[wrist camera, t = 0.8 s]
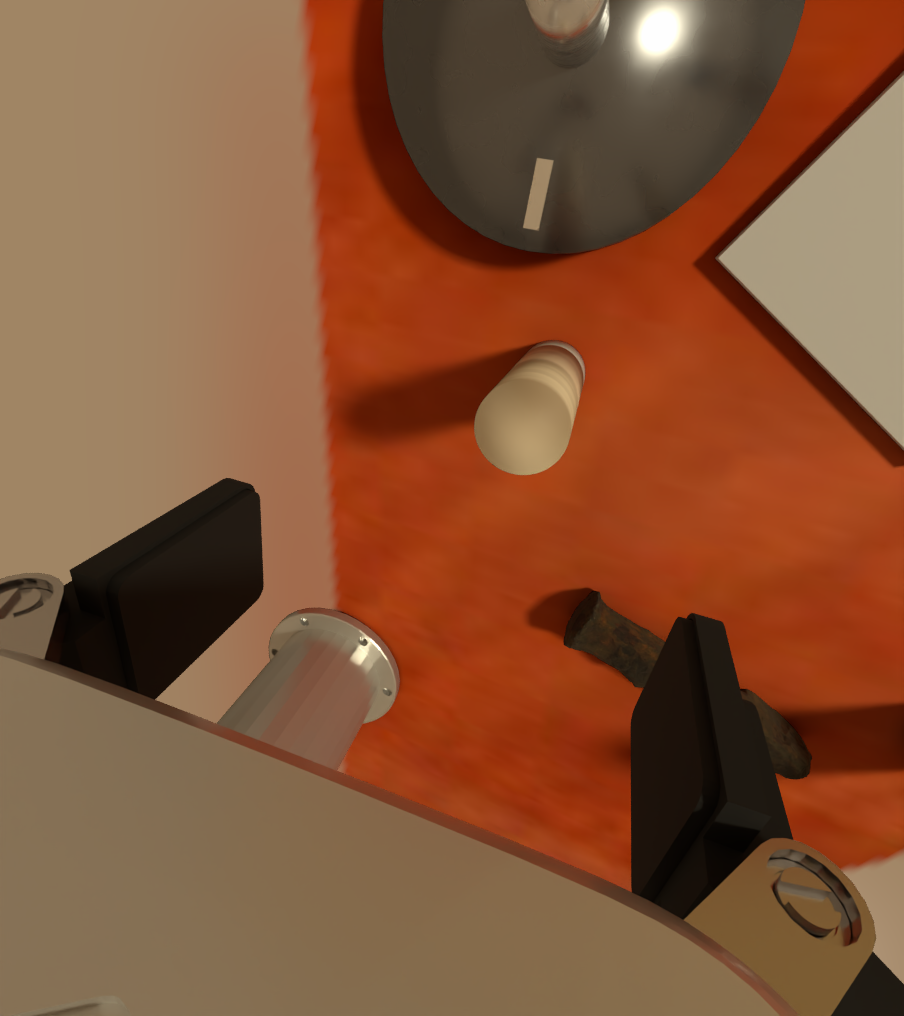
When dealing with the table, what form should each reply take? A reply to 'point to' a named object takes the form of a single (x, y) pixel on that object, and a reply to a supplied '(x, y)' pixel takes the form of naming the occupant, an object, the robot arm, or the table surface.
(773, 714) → the hand tool
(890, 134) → the mat
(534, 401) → the beige rounded cylinder
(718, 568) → the table surface
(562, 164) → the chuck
